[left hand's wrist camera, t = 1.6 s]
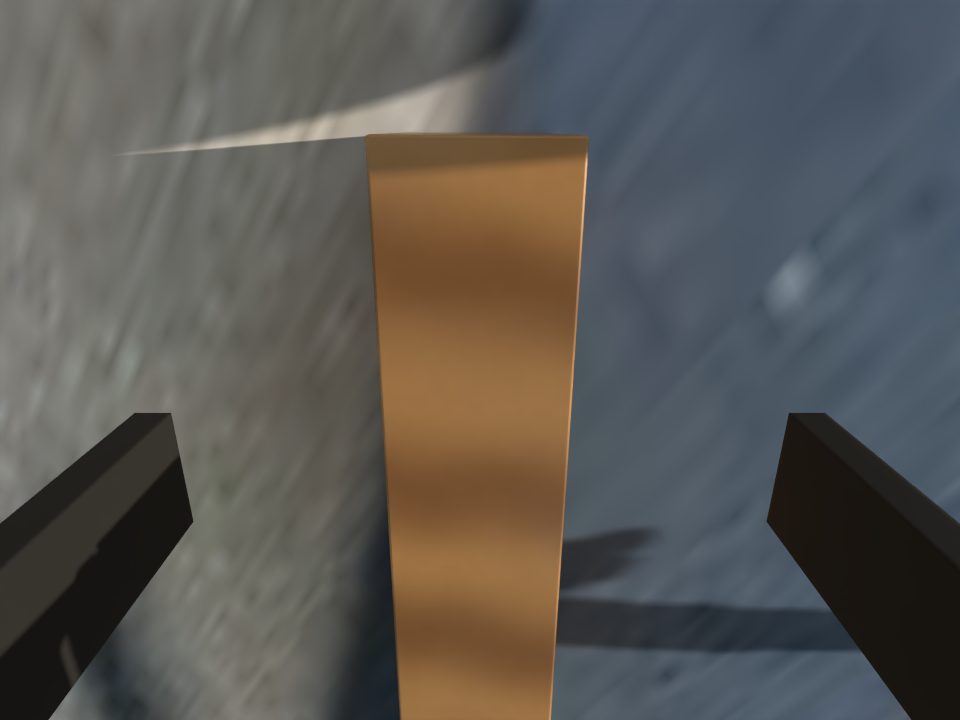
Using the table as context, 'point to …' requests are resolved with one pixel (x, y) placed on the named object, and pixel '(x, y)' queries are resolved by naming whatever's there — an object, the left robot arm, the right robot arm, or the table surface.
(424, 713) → the beam
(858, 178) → the table surface
